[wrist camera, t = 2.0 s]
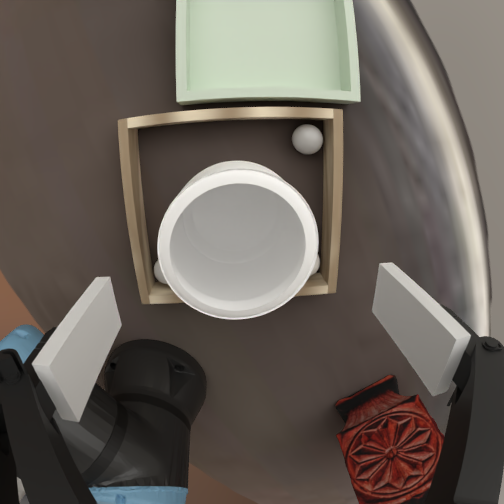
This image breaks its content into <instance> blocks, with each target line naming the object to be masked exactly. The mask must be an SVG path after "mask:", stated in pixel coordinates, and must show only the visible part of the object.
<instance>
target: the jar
mask: <svg viewBox="0 0 504 504" xmlns="http://www.w3.org/2000/svg"><path fill="white" fill-rule="evenodd" d="M157 250H158V259H159V264H160V267H161V270H162V273H163V275H164V277H165V279H166V281H167V283H168V284H169V286H170V287H171V289H172V290H173V291H174V293H175V294H176V295H177V296H178V297H179V298H180V299H181V300H183V301H184V302H185V303H186V304H188V305H189V306H191V307H192V308H194V309H196V310H197V311H200V312H202V313H204V314H207V315H210V316H213V317H217V318H223V319H247V318H253V317H257V316H261V315H264V314H266V313H269V312H271V311H273V310H275V309H277V308H279V307H281V306H282V305H284V304H285V303H286V302H288V301H289V300H290V299H291V298H293V297H294V296H295V295H296V294H297V293H298V292H299V290H300V289H301V288H302V287H303V286H304V284H305V283H306V281H307V280H308V278H309V276H310V274H311V272H312V270H313V268H314V265H315V262H316V258H317V253H318V229H317V225H316V221H315V218H314V215H313V213H312V211H311V209H310V207H309V205H308V204H307V202H306V201H305V199H304V198H303V197H302V195H301V194H300V193H299V192H298V191H297V190H296V189H295V188H294V187H292V186H291V185H290V184H288V183H287V182H286V181H284V180H283V179H282V178H281V177H280V176H278V175H277V174H276V173H274V172H273V171H271V170H270V169H268V168H266V167H264V166H262V165H259V164H256V163H252V162H248V161H227V162H222V163H218V164H215V165H213V166H210V167H208V168H206V169H204V170H203V171H201V172H200V173H198V174H197V175H196V176H194V177H193V178H192V179H191V180H190V181H189V182H188V183H187V184H186V185H185V187H184V188H183V189H182V191H181V192H180V193H179V194H178V195H177V197H176V198H175V199H174V200H173V202H172V203H171V205H170V206H169V208H168V209H167V211H166V213H165V215H164V218H163V220H162V223H161V226H160V229H159V234H158V243H157Z"/></svg>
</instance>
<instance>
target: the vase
mask: <svg viewBox="0 0 504 504" xmlns="http://www.w3.org/2000/svg"><path fill="white" fill-rule="evenodd" d="M335 406H336V409H337V410H338V412H339V414H340V415H341V417H342V418H343V420H344V421H345V423H346V424H345V427H344V429H343V430H342V431H341V432H340V433H338V434H337V435H336V437H337V438H338V440H339V443H340V447H341V449H342V452H343V455H344V458H345V463H346V467H347V469H348V472H349V475H350V478H351V483H352V486H353V489H354V491H355V494H356V496H357V499H358V501H359V504H424V502H425V499H426V496H427V494H428V491H429V488H430V485H431V482H432V479H433V476H434V473H435V470H436V466H437V463H438V460H439V456H440V453H441V449H442V445H443V441H444V435H443V434H442V433H441V432H440V430H439V429H438V427H437V424H436V422H435V421H434V419H433V418H432V417H431V416H430V415H429V413H428V411H427V409H426V408H425V406H424V404H423V403H422V401H421V400H420V398H419V395H418V394H417V395H414V396H402V395H399V390H398V384H397V379H396V377H395V376H393V375H388V376H386V377H385V378H384V379H382V380H380V381H378V382H376V383H374V384H372V385H370V386H368V387H367V388H365V389H363V390H362V391H360V392H358V393H356V394H355V395H353V396H352V397H349V398H344V399H340V400H339V401H338V402H337V403H336V405H335Z"/></svg>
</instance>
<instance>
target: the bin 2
mask: <svg viewBox="0 0 504 504" xmlns="http://www.w3.org/2000/svg"><path fill="white" fill-rule="evenodd" d="M248 119H308V120H323V217H322V243H321V263H320V273H315V274H313V275H311V276H309V278H308V280H307V281H306V283H305V284H304V286H303V287H302V288H301V289H300V290H299V292H298V293H297V294H296V295H295V296H304V295H316V294H327V293H336V285H337V273H338V261H339V248H340V232H341V213H342V186H343V109H328V108H308V107H239V108H218V109H203V110H191V111H180V112H171V113H162V114H154V115H147V116H139V117H133V118H126V119H120V120H118V134H119V149H120V162H121V173H122V183H123V192H124V200H125V208H126V216H127V223H128V230H129V237H130V243H131V249H132V255H133V261H134V266H135V272H136V277H137V282H138V287H139V292H140V297H141V302H142V304H162V303H185V302H184V301H183V300H181V299H180V298H179V297H178V296H177V295H176V294H175V293H174V291H173V290H172V289H171V287H170V286H169V284H163V283H161V282H155V279H154V273H153V267H152V261H151V255H150V248H149V241H148V234H147V226H146V219H145V210H144V202H143V192H142V182H141V171H140V159H139V145H138V129H140V128H148V127H156V126H164V125H173V124H183V123H195V122H208V121H224V120H248Z"/></svg>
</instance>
